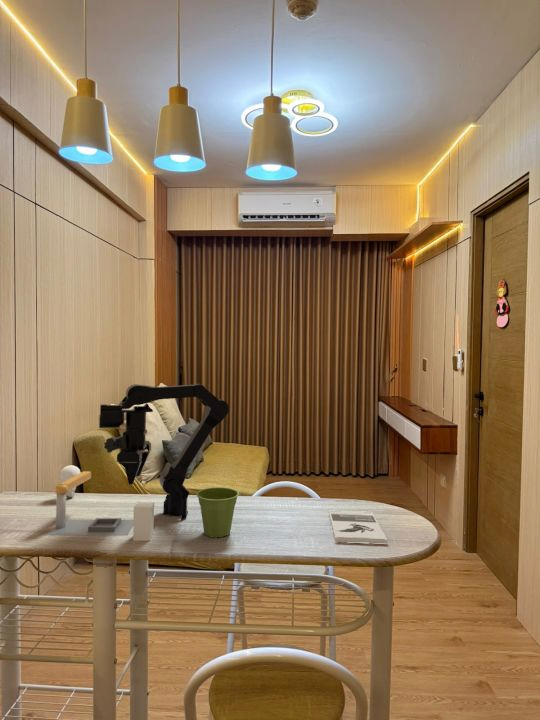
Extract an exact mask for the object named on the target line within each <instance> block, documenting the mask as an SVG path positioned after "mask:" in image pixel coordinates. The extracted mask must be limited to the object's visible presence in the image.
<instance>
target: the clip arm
mask: <svg viewBox="0 0 540 720" xmlns="http://www.w3.org/2000/svg"><path fill="white" fill-rule="evenodd" d="M80 472H81V471H80ZM90 479H92V471H85V470H84V471H82V472H81V473H79V474H77V475H76V476H74V477H72V478H70V479H68V480H66V481H64V482H60V483H57V484H55V494H56V495H57V494H65V493H67V492H68V491H70V490H71V489H73V488H75V487H76V488H77V487H78V486H80V485H81V484H83V483H85V482H87V481H88V480H90ZM76 488H75V489H76Z"/></svg>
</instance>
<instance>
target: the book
mask: <svg viewBox="0 0 540 720" xmlns="http://www.w3.org/2000/svg"><path fill="white" fill-rule="evenodd" d="M327 511H328V513H329V515H328V519H329V518H330V519H329V523H330V522H331V523H330V527H331V526H332V528H331V531H332V530H333V532H332V535H334V536H333V540H334V539H335V540H334V543H335V542H369V543H387V544H388V538H387V537H386V535H385V533H384V531H383V529H382V528H381V525H380V524H379V522H378V520H377V518H376V516H375V514H374V513H373V511H362V510H361V511H360V510H339V509H338V510H333V509H328V510H327ZM328 513H327V514H328Z"/></svg>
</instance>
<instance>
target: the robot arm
mask: <svg viewBox="0 0 540 720" xmlns="http://www.w3.org/2000/svg"><path fill="white" fill-rule="evenodd" d="M182 398H183V399H184V398H196V399H197V400H198V401H199V402H200V403H201V404H202V405H203V407H204V409H203V412H202V415H201V420H200V422H199V424H198V425H197V427H196V428H195V430H194V431H193V433H192V434H191V437H190V438H189V440H188V441H187V442H186V444H185V445H184V448H182V451H181V452H180V454H179V455H178V457H177V458H176V459H175V461H173V462H172V463H171V464H170V462H166V464H165V466H164V468H163V469H162V471H160V472H159V475H160V476H159V479H158V480H159V484H160V486H161V488H162V490H163V491H164V492H165V493H166V496H165V499H164V501H163V510H162V511H163V516H164V515H165V516H170V517H180V520H186V519H187V516H188V513H189V511H188V497H189V495H190V492H189V490H188V488H187V487H186V486H184V482H185V480H186V477H187V473H188V469H189V468H190V466H191V464H192V463H193V461H194V459H195V458H196V456H197V455H198V453H199V451H200V450H201V449H202V447H203V445H204V444H205V442H206V440H207V439H208V438H209V436H210V434H211V432H212V431H213V430H214V429H215V427H217V426H218V425H220V424H221V422H223V420H224V419H225V418H226V417H227V416H228V414H229V412H230V407H229V405H228V403H227V402H226V401H225V400H223V399H219V398H218V397H217V396H215V394H213V393H212V392H210V391H209V390H208V389H207V388H206V386H204V385H203V384H201V383H194V384H184V385H183V384H182V385H170V386H169V385H166V386H165V385H164V386H153V385H146V384H137V383H135V384H131V385H129V386H128V388H127V389H126V391H125V396H124V398H122V400H121V401H120V402H119V403H118V404H101V403H100V405H99V415H98V429H117V428H118V429H119V428H121V426H122V425H125V430H124V431H123V432H122V435H120V436H118V437H113V436H112V437H109V438H106V439H105V442H104V449H105V450H106V452H107V454H109V453H110V454H111V452H114V451H116V450H118V449H121V451H119V453H117V454H116V462H117V463H118V464H119V465H121V466H122V467H123V468H124V471H125V474H126V477H127V482H128V485H133V484H134V482H135V479H136V477H140V476H141V474H142V472H143V470H144V467H145V465H146V463H147V462H146V461H147V460H148V458H149V455H150V453H151V451H152V443H151V441H150V440H146V434H148V429H146V428H147V427H146V425H147V413H153V412H154V410H153V409H152V407H150V405H149V404H148V403H152V402H156V401H159V400H160V401H161V400H169V399H170V400H171V399H172V400H173V399H182ZM131 408H132V409H131ZM124 423H125V424H124Z"/></svg>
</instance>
